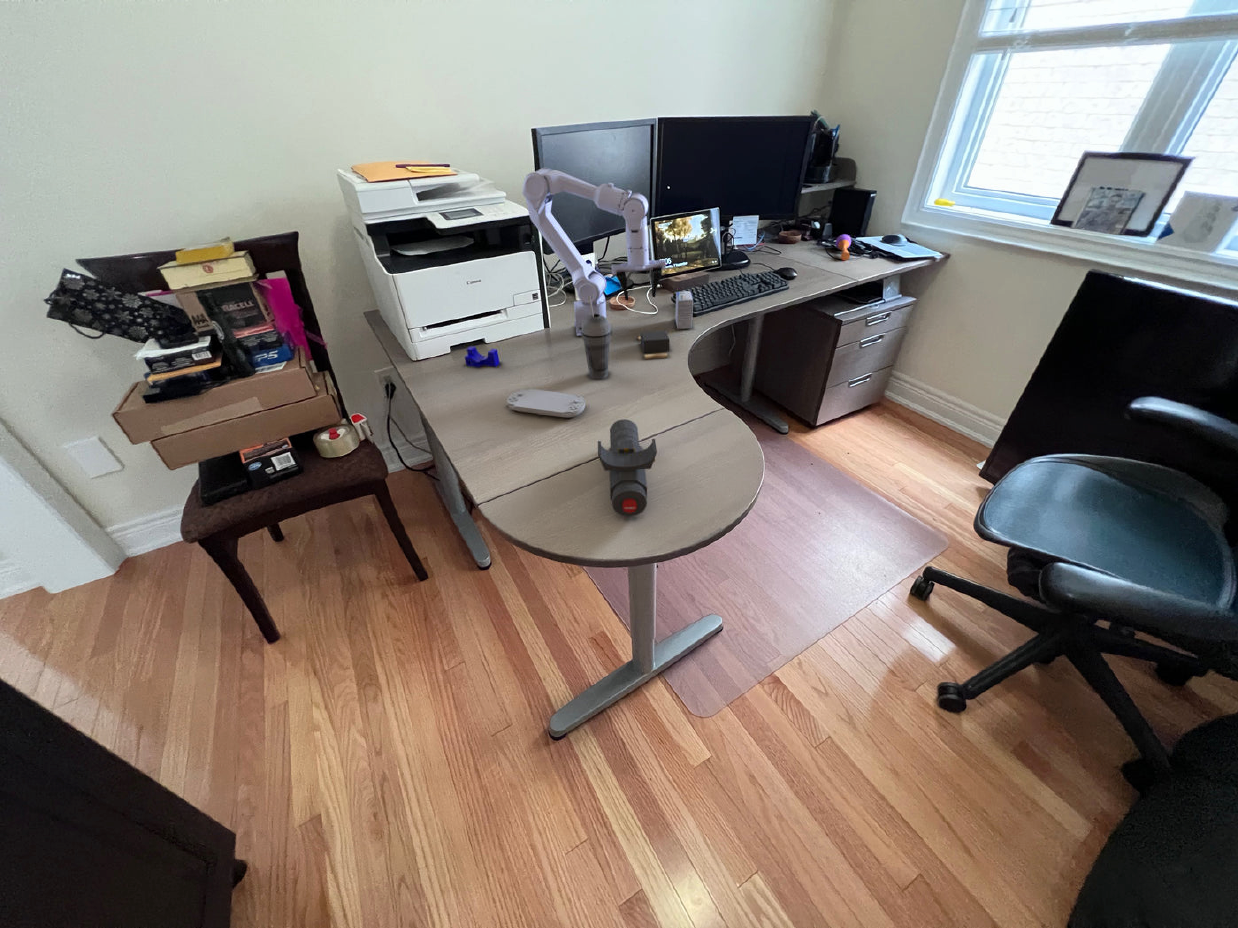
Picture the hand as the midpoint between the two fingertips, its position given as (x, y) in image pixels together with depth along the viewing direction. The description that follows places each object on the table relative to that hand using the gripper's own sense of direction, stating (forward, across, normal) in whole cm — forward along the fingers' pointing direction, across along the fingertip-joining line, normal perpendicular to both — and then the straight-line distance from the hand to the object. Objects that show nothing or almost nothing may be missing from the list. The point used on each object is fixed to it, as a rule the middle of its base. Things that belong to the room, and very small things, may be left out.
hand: (640, 297), depth 138 cm
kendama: (+14, +94, +67) cm, 116 cm away
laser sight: (+11, -13, -66) cm, 68 cm away
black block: (+11, +2, -10) cm, 15 cm away
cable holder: (+9, -45, -14) cm, 47 cm away
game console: (+10, -28, -38) cm, 48 cm away
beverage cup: (+10, -15, -24) cm, 30 cm away
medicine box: (+11, +13, +5) cm, 18 cm away
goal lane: (+11, +1, -10) cm, 15 cm away
